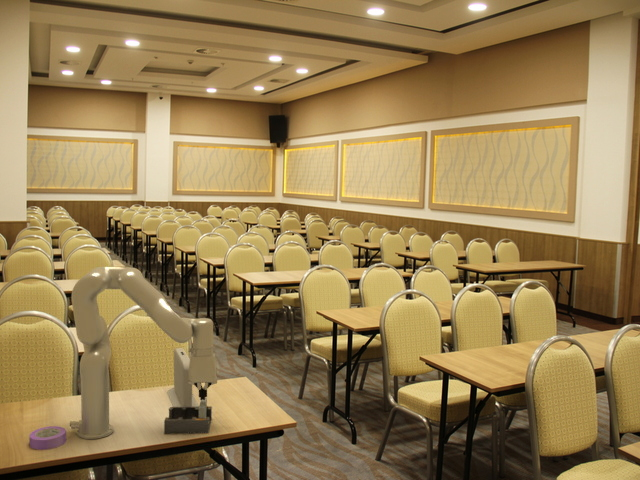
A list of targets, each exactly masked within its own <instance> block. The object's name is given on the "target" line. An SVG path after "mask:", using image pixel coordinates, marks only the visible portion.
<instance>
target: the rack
mask: <svg viewBox="0 0 640 480" xmlns="http://www.w3.org/2000/svg"><path fill="white" fill-rule="evenodd" d="M212 411H213V406H209V405H207V417H206V418H205V419H199V407H173V406H169V409H168V417H164V420H163V421H164V425H163V426H164V428H163V429H164V431H163V432H164V435H165V434H166V435H174V434H177V435H178V434H185V435H186V434H209V432H210V428H211V423H212V420H213V419H212V418H213V417H212V416H213V415H212V414H213V412H212Z"/></svg>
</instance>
